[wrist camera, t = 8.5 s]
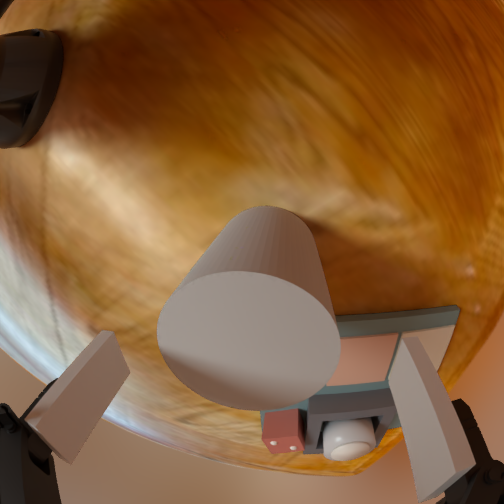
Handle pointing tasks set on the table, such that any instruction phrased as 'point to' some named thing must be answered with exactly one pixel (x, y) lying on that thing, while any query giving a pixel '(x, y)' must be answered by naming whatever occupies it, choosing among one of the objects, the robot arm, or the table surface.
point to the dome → (348, 438)
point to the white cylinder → (253, 316)
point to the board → (371, 369)
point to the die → (284, 431)
